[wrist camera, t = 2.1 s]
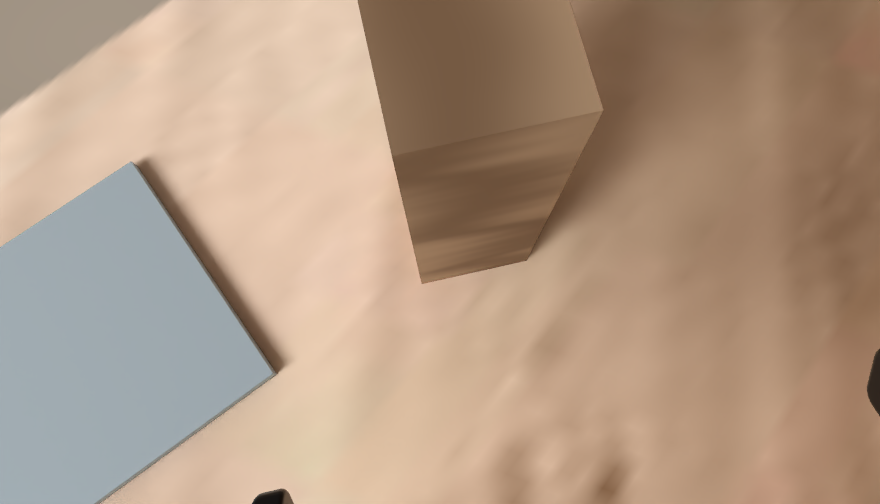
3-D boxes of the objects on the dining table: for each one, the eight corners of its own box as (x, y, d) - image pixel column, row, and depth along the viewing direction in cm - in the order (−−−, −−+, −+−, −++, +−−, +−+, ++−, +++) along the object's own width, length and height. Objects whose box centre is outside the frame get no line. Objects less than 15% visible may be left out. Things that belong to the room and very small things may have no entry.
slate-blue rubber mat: (276, 374, 23) (272, 373, 23) (32, 552, 22) (22, 555, 21) (137, 166, 25) (131, 161, 25) (-95, 318, 24) (-106, 316, 23)
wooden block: (494, 139, 25) (534, -111, 13) (526, 260, 24) (603, 110, 12) (394, 160, 25) (341, -72, 13) (421, 283, 24) (392, 156, 12)
